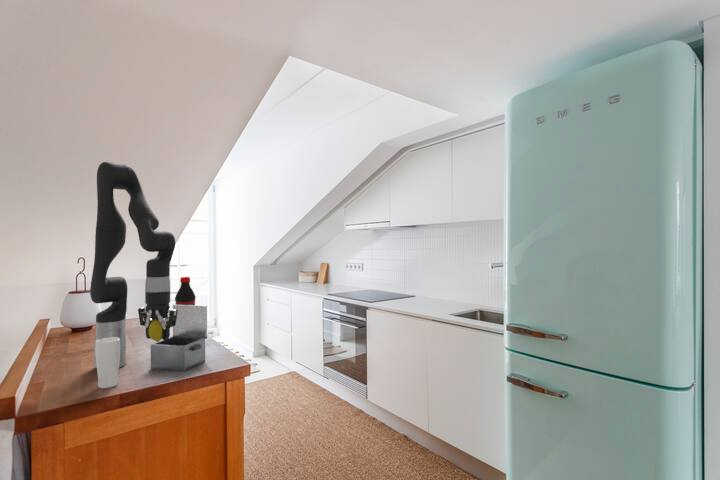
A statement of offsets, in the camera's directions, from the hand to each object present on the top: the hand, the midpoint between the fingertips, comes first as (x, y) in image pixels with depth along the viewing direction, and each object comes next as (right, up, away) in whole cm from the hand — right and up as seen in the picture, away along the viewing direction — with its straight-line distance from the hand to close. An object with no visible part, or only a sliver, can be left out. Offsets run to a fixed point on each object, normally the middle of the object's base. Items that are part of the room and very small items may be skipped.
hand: (157, 338), depth 128 cm
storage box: (+1, -13, +13) cm, 19 cm away
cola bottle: (-11, -13, +44) cm, 47 cm away
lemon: (0, -1, 0) cm, 1 cm away
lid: (+2, +2, +19) cm, 19 cm away
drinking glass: (-12, -14, -7) cm, 20 cm away
